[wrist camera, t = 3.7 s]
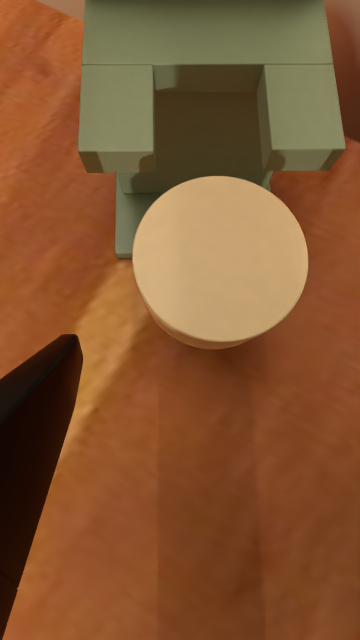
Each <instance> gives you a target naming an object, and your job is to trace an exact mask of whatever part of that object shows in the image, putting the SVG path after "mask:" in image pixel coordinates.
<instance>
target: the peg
mask: <svg viewBox="0 0 360 640" xmlns="http://www.w3.org/2000/svg"><path fill="white" fill-rule="evenodd" d="M132 265H133V272H134V276H135V280H136V283H137V286H138V288H139V291H140V293H141V295H142V298H143V300H144V302H145V305H146V307H147V309H148V311H149V313H150V315H151V316H152V318H153V319H154V320H155V322H156V323H157V324H158V325H159V326H160V327H161V328H162V329H163V330H164V331H165V332H166V333H167V334H169V335H170V336H171V337H173V338H174V339H176V340H178V341H180V342H182V343H184V344H187V345H189V346H193V347H197V348H202V349H224V348H230V347H234V346H237V345H240V344H242V343H244V342H246V341H249V340H251V339H253V338H255V337H257V336H259V335H261V334H263V333H265V332H267V331H268V330H270V329H271V328H273V327H275V326H276V325H277V324H278V323H280V322H281V321H282V320H283V319H284V318H285V317H286V316H287V315H288V314H289V313H290V312H291V311H292V309H293V308H294V306H295V305H296V303H297V302H298V300H299V298H300V296H301V294H302V292H303V289H304V285H305V282H306V278H307V272H308V252H307V245H306V241H305V237H304V235H303V232H302V230H301V227H300V225H299V224H298V222H297V220H296V218H295V217H294V215H293V214H292V213H291V211H290V210H289V209H288V208H287V206H286V205H285V204H284V203H283V202H282V201H281V200H280V199H278V198H277V197H276V196H275V195H274V194H272V193H271V192H269V191H267V190H266V189H264V188H263V187H261V186H258V185H256V184H254V183H252V182H249V181H246V180H243V179H239V178H234V177H227V176H208V177H200V178H196V179H192V180H189V181H186V182H184V183H181V184H179V185H177V186H175V187H173V188H171V189H170V190H168V191H167V192H166V193H164V194H163V195H162V196H160V197H159V198H158V199H157V200H156V201H155V202H154V203H153V204H152V205H151V207H150V208H149V209H148V210H147V212H146V213H145V215H144V216H143V218H142V220H141V222H140V224H139V226H138V228H137V231H136V234H135V238H134V242H133V249H132Z"/></svg>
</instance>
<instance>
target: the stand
mask: <svg viewBox="0 0 360 640" xmlns="http://www.w3.org/2000/svg"><path fill="white" fill-rule="evenodd" d="M344 151H345V141H344V134H343V128H342V121H341V114H340V107H339V101H338V94H337V87H336V80H335V74H334V67H333V59H332V53H331V46H330V39H329V32H328V25H327V19H326V13H325V6H324V0H85V7H84V28H83V49H82V72H81V94H80V115H79V136H78V153H79V155H80V157H81V160H82V162H83V164H84V167H85V169H86V171H87V173H116V211H115V255H116V257H117V258H132V249H133V242H134V238H135V234H136V231H137V228H138V226H139V224H140V222H141V220H142V218H143V216H144V215H145V213H146V212H147V210H148V209H149V208H150V207H151V205H152V204H153V203H154V202H155V201H156V200H157V199H158V198H159V197H160V196H162V195H163V194H164V193H166V192H167V191H168V190H170V189H171V188H173V187H175V186H177V185H179V184H181V183H184V182H186V181H189V180H192V179H196V178H200V177H208V176H227V177H234V178H239V179H243V180H246V181H249V182H252V183H254V184H256V185H258V186H261V187H263V188H264V189H266V190H267V191H269V192H271V190H270V178H271V175H272V173H273V171H312V170H330V169H331V168H332V167H333V165H334V164H335V163H336V161H337V160H338V159H339V157H340V156H341V155H342V153H343V152H344Z"/></svg>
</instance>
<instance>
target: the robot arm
mask: <svg viewBox="0 0 360 640" xmlns="http://www.w3.org/2000/svg"><path fill="white" fill-rule="evenodd" d="M82 364H83V354H82V350H81V346H80V342H79V339H78V336H77V335H75V334H63V335H61V336H59V337H58V338H57V339H55V340H54V341H53V342H51V343H50V344H48V345H47V346H46V347H44V348H43V349H41V350H40V351H39V352H37V353H36V354H35V355H33V356H32V357H30V358H29V359H28V360H26V361H25V362H24V363H22V364H21V365H19V366H18V367H17V368H15V369H14V370H12V371H11V372H10V373H8V374H7V375H6V376H4V377H3V378H1V379H0V640H2V638H3V635H4V632H5V629H6V626H7V622H8V619H9V616H10V613H11V610H12V606H13V603H14V600H15V597H16V594H17V588H18V586H19V583H20V580H21V577H22V574H23V571H24V567H25V564H26V561H27V558H28V555H29V551H30V548H31V545H32V542H33V539H34V535H35V532H36V529H37V526H38V523H39V519H40V516H41V513H42V510H43V507H44V504H45V500H46V497H47V494H48V491H49V488H50V484H51V481H52V478H53V475H54V472H55V468H56V465H57V462H58V459H59V456H60V452H61V449H62V446H63V443H64V440H65V436H66V433H67V430H68V427H69V424H70V421H71V417H72V414H73V411H74V407H75V402H76V397H77V392H78V386H79V381H80V375H81V370H82Z"/></svg>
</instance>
